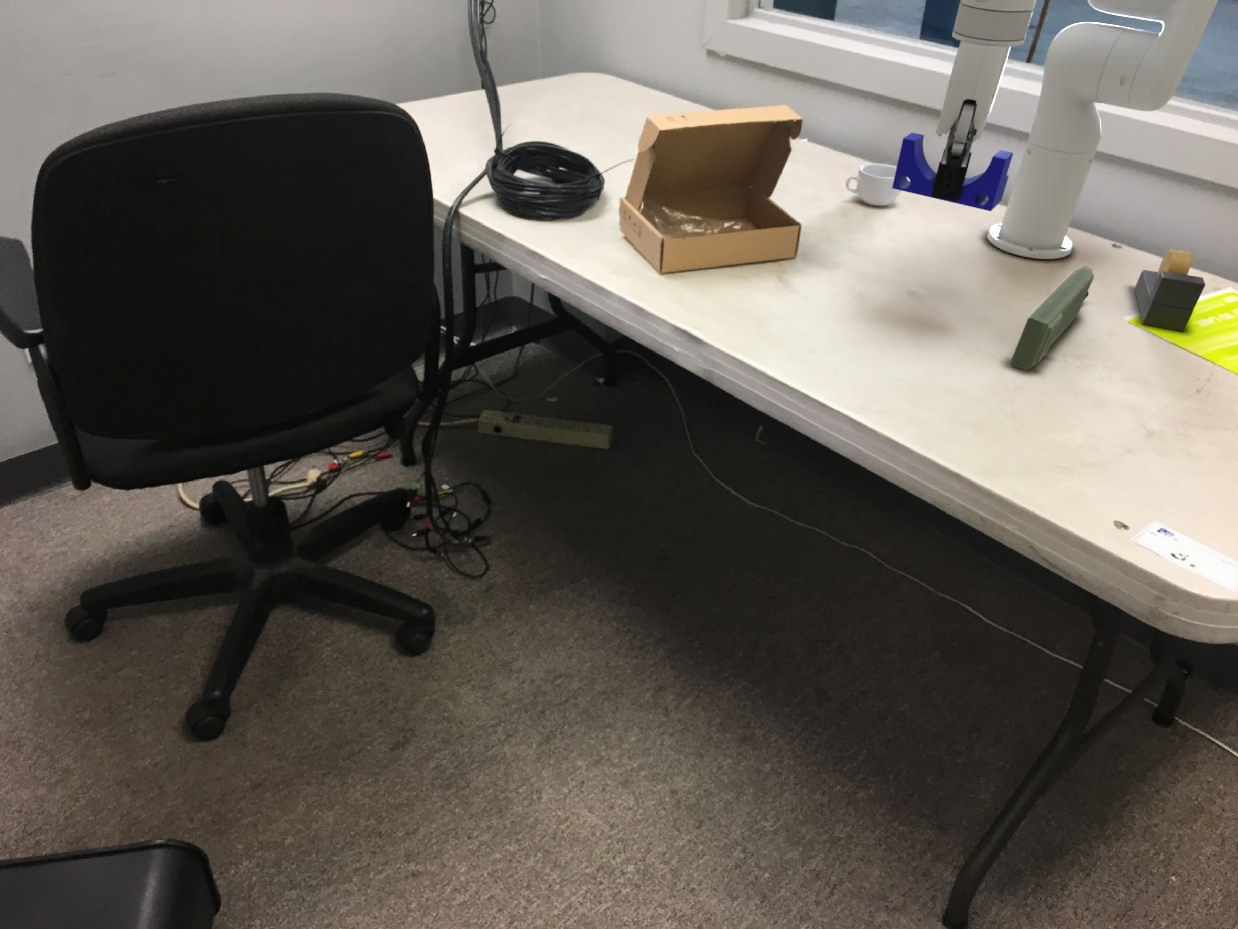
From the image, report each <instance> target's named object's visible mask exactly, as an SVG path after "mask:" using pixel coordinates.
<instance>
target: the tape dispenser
mask: <svg viewBox="0 0 1238 929" xmlns="http://www.w3.org/2000/svg"><path fill="white" fill-rule="evenodd" d="M1192 258H1193V257H1192V253H1191V252H1189V251H1182V250H1176V249H1169V250H1167V252H1166V253H1165V254H1164V256H1163V258H1162V260H1161V262H1160V265H1159V268H1158V271H1153V270H1147V269H1142V270H1141V272H1140V274H1139V277H1138V279H1137V282H1136V284H1135V286H1134V292H1135V297H1136V301H1137V305H1138V310H1139V311H1138V312H1139V315H1140V320H1141V323H1142V325H1145V326H1151V327H1155V328H1161V329H1167V330H1174V331H1179V332H1184V331H1185V329H1186V328H1187V325H1188V323H1189V321H1190V319H1191V317H1192V315H1193V313H1194V310H1195V307H1196V305H1197V303H1198V302H1199V299H1200V297H1201V295H1202V293H1203V291H1204V289H1205V287H1206V282H1205V279H1204V278H1203V277H1202V276H1196V275H1190V274H1189V271H1190V268H1191V265H1192Z"/></svg>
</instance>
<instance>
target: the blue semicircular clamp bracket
mask: <svg viewBox="0 0 1238 929" xmlns="http://www.w3.org/2000/svg"><path fill="white" fill-rule="evenodd" d="M924 138H925V135H924V134H921V133H917V132H910V133H909V134H908V135H906V136H904V137H902V143H901V146H900V151H899V154H898V155H899V156H898V160H897V163H896V164H897V165H896V167H897V169H896V173H895V177H894V182H893V186H892V188H893V189H897V190H901V192H906V193H909V194H915V195H919V196H923V197H927V198H931V199H936V200H940V201H945V202H949V203H953V204H958V205H962V206H967V207H971V208H975V209H979V210H982V211H983V210H984V211H988V212H992V211H993V210H994V209H995V208H996V207H997V206H998V205H999V204H1000V203H1001V202H1002V199H1003V197H1004V194H1005V190H1006V186H1007V183H1008V180H1009V177H1010V176H1009V175H1008V172H1009V169H1010V165H1011V162H1012V159H1013V155H1014V152H1012V151H1007V150H998V152H996V153H995V154H993V156H992V158H991V160H990V162H989V164H988V166H987V168H986V170H985V171H984V172H981V173H980V174H978V175H974V176H971V177H965V180H964V184H963V187H962V191H961V194H960V198H959V200H958V201H952V200H946V199H940V198H934V197H932V195H931V194H932V190H933V186H934V182H935V178H936V174H937V172H936V171H934V170H933V168H932V167H931V166H930V164H929V163H928V161H927V158H926V156H925V152H924V151H925V150H924Z"/></svg>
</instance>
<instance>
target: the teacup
mask: <svg viewBox="0 0 1238 929" xmlns="http://www.w3.org/2000/svg"><path fill="white" fill-rule="evenodd" d="M896 169H897V165H892V164H888V163H876V162H875V163H866V164H862V165H860V166H859V168H858V173H857V175H852V176H850V177H848V178H847V179H846V181H845V188H846V189H847V191H849V192H850V193H853V194H856V195H858V197H859V198H860V199H861V200H862V201H863V203H864V204H867V205H870V206H873V207H874V206H875V207H885V206H889V205H890V204H892V203H893V202H895V201H896V200H897V199H898V197H899V196H900V194H901V192H902V191H901V190H897V189H893V188H892V186H893V182H894V177H895V173H896ZM852 180H855V181H856V189H855V188H854V189H853V188H850V186H849V185H850V182H851V181H852Z"/></svg>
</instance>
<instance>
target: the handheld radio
mask: <svg viewBox="0 0 1238 929" xmlns="http://www.w3.org/2000/svg"><path fill="white" fill-rule="evenodd" d="M1093 271H1094V269H1093V268H1091V267H1088V266H1082V267H1080V268H1078V269H1076V270H1074V272H1072V273H1071V275H1070V276H1068V277H1067V278H1066V279H1065V280H1064V281H1063V282H1062V283H1061V284H1060V285H1059V286H1058V287H1057V288H1056V289H1055V290H1054V291H1053V292H1052V293H1051V294H1050V295H1049V296H1048V297H1047V298H1046V299H1045V300H1044V301H1043V302H1042V303H1041V304H1040V305H1039V307H1038V308H1037V309H1035V310H1034V312H1033V313H1032V314H1030V316H1029V317H1028V318H1027V320H1026V322H1025V325H1024V327H1023V330H1022V332H1021V335H1020V337H1019V340H1018V343H1017V345H1016V347H1015V350H1014V352H1013V354H1012V357H1011V360H1010V364H1011V366H1012V367H1014V368H1017V369H1020V370H1023V371H1029V370H1030V369H1032V367H1035V366H1036V365H1038V364H1039V363H1040V361H1041V360H1042V359H1043V358H1044V357H1045V356H1046V355H1047V353H1048V352H1049V351H1050V349H1051V346H1052V345H1053V344H1054V343H1055V342H1056V341H1057V339H1059V337H1060V336H1061V335H1062V334H1063V333H1064V332H1065V330H1066V329H1067V328H1068V327H1069V326H1070V325H1071V324H1072V323H1073V322H1074V320H1075V319H1076V318H1077V316H1078V314H1079V312H1080V310H1081V307H1082V305H1083V302H1084V301H1085V300H1086V299H1087V298H1088V296H1089V290H1090V287H1091V285H1092V283H1093V280H1094V278H1095V274H1094V273H1093Z"/></svg>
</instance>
